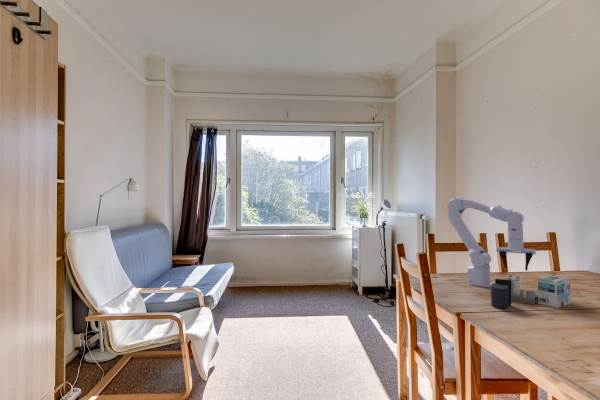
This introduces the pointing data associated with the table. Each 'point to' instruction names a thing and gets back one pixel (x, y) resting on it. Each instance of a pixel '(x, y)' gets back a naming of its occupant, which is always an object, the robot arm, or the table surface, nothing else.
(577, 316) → the table surface
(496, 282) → the speaker
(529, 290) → the mat
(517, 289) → the block
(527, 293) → the stand
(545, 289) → the light bulb box
